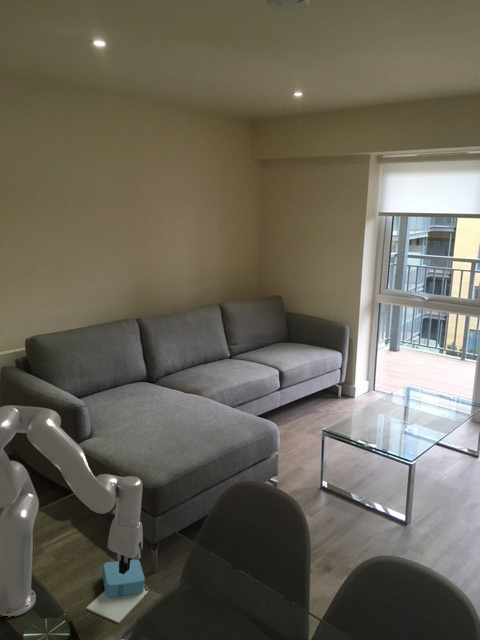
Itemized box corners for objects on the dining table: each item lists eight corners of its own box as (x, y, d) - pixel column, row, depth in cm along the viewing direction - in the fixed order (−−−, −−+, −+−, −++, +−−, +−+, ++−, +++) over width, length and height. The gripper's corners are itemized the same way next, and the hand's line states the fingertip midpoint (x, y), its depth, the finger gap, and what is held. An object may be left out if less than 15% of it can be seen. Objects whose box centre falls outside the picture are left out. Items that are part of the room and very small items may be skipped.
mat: (86, 609, 164) (86, 607, 163) (121, 576, 180) (121, 575, 180) (118, 623, 159) (118, 622, 159) (151, 589, 175) (151, 587, 175)
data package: (106, 599, 168) (144, 593, 172) (107, 586, 167) (145, 580, 172) (101, 574, 179) (137, 570, 183) (102, 562, 178) (138, 558, 183)
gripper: (100, 515, 164) (96, 570, 167) (141, 530, 159) (137, 586, 162) (114, 505, 171) (111, 557, 174) (155, 519, 165) (150, 572, 168)
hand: (123, 571), depth 168 cm, fingers closed
